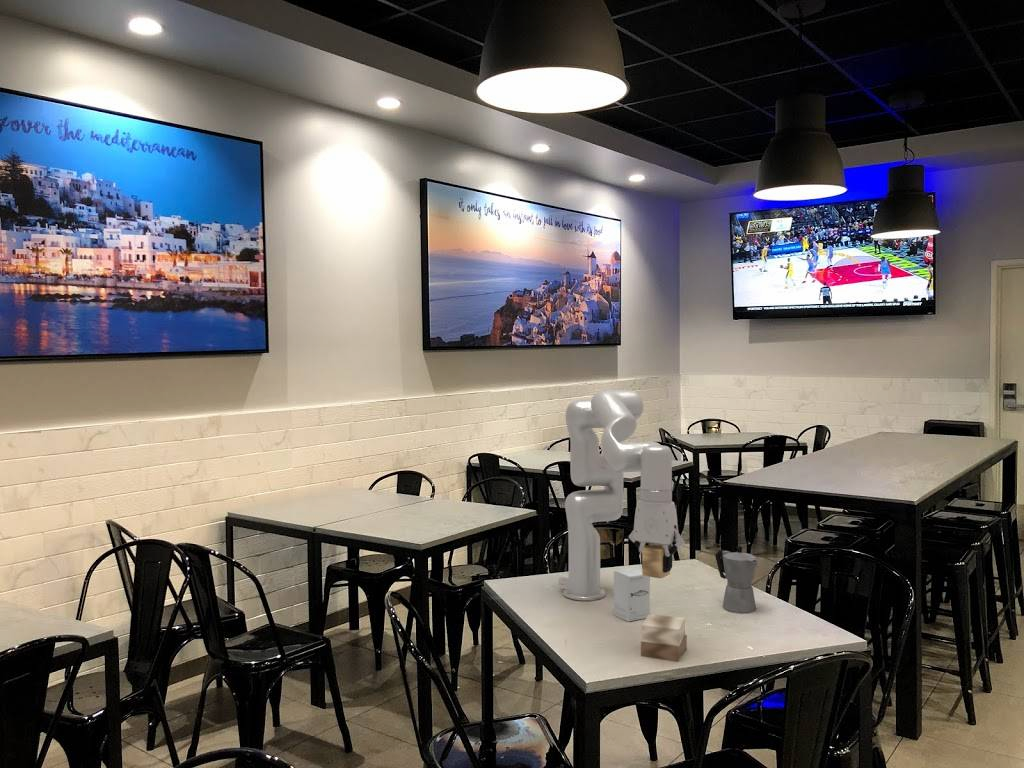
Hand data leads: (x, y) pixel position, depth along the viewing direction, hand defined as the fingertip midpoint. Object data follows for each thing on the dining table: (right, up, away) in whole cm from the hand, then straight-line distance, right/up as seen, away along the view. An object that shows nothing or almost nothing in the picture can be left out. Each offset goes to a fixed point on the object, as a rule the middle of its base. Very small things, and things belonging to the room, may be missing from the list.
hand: (656, 568), depth 205 cm
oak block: (0, -1, 0) cm, 2 cm away
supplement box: (-2, -19, +27) cm, 33 cm away
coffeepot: (+29, -19, +34) cm, 48 cm away
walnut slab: (+2, -21, -1) cm, 21 cm away
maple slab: (+2, -17, -1) cm, 17 cm away
